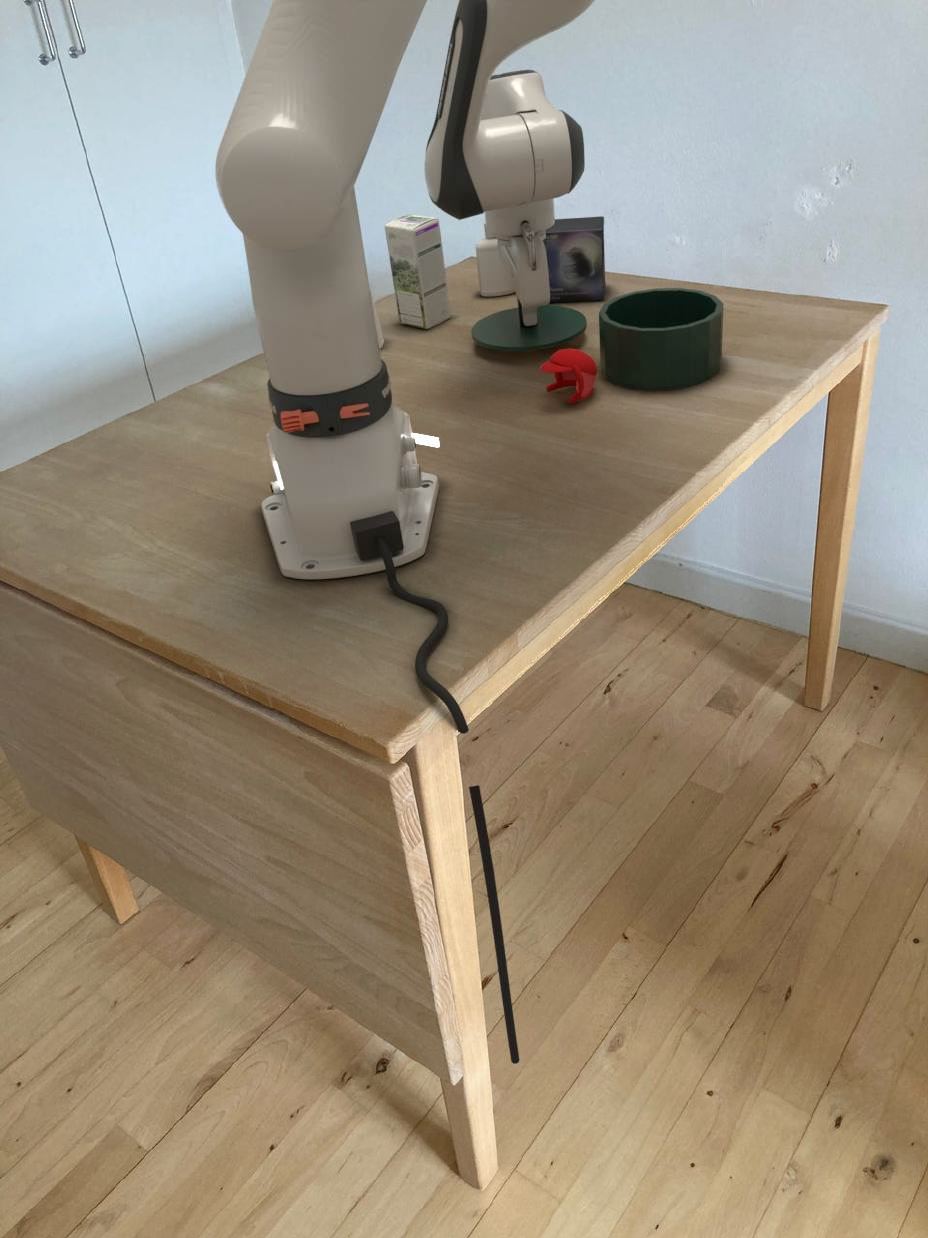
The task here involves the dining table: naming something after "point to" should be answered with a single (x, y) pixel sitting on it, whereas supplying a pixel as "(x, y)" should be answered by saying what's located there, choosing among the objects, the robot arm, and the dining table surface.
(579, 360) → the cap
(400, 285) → the syrup box
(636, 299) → the pot
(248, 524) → the dining table surface
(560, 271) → the small box
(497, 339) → the lid
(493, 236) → the eye dropper bottle
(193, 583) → the dining table surface
